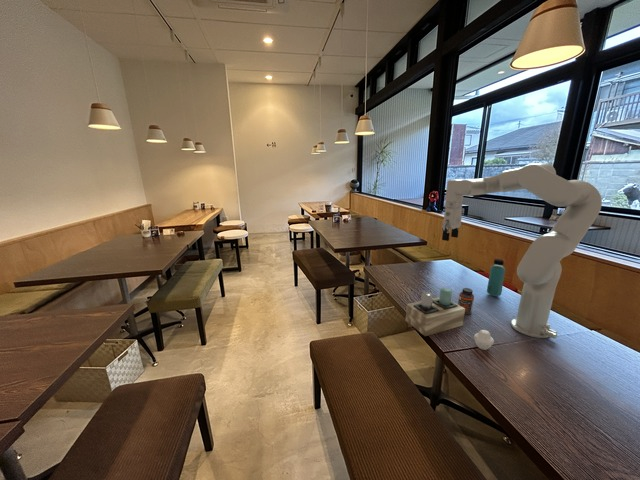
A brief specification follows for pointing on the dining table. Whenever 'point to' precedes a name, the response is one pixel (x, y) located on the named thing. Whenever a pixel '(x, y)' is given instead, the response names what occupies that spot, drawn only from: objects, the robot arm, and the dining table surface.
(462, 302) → the supplement bottle
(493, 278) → the beverage bottle
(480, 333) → the white rounded ridged piece
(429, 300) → the steel peg
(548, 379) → the dining table surface
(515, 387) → the dining table surface
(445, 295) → the teal peg
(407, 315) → the socket block
